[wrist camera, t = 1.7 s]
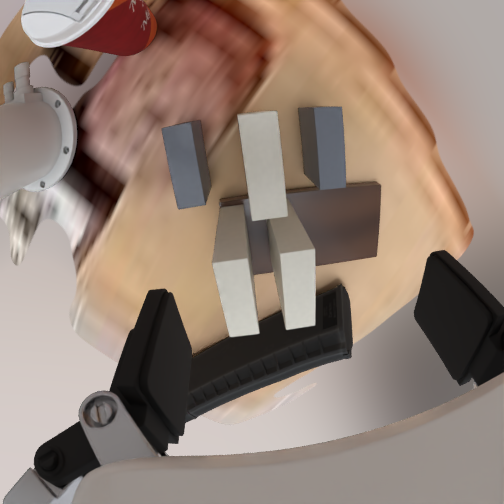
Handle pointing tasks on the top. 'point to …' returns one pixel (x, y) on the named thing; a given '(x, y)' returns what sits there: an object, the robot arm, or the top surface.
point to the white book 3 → (293, 269)
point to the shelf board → (323, 223)
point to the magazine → (270, 354)
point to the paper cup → (90, 24)
